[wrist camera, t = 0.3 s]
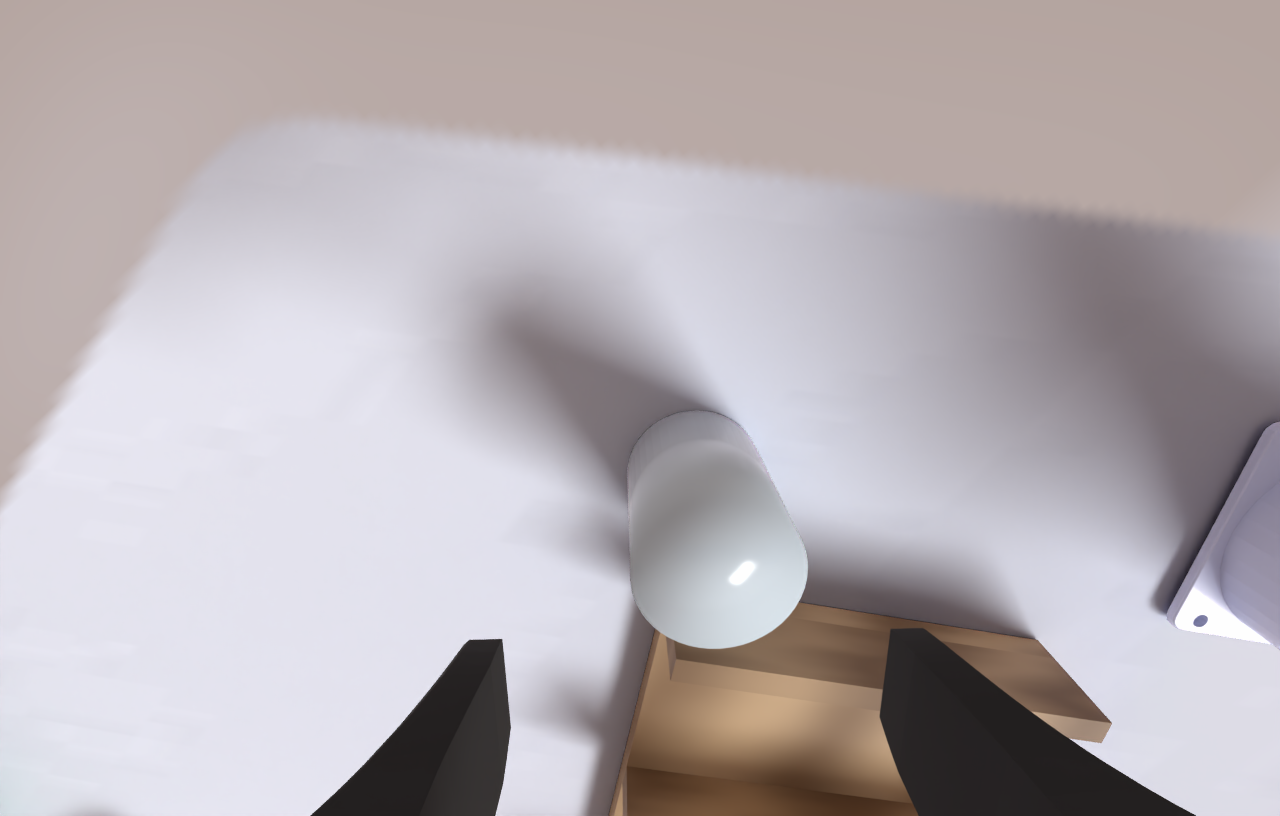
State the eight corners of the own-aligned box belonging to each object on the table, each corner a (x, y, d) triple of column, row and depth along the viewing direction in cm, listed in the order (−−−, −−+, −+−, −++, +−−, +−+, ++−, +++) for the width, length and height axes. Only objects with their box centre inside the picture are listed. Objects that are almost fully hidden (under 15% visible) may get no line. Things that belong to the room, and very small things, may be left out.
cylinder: (774, 423, 22) (830, 511, 16) (741, 541, 23) (781, 659, 18) (641, 399, 22) (650, 480, 16) (616, 520, 23) (615, 635, 17)
